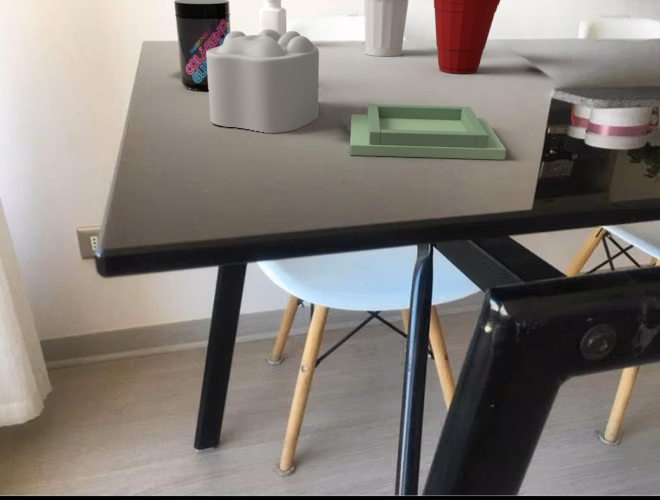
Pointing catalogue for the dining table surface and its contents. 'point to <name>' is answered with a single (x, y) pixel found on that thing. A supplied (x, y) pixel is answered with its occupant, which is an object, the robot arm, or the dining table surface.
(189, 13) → the supplement container
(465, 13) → the plastic cup
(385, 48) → the cup
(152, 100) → the dining table surface
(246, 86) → the lumpy-topped squat cylinder
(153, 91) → the dining table surface
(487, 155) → the base pad
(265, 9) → the pepper shaker
